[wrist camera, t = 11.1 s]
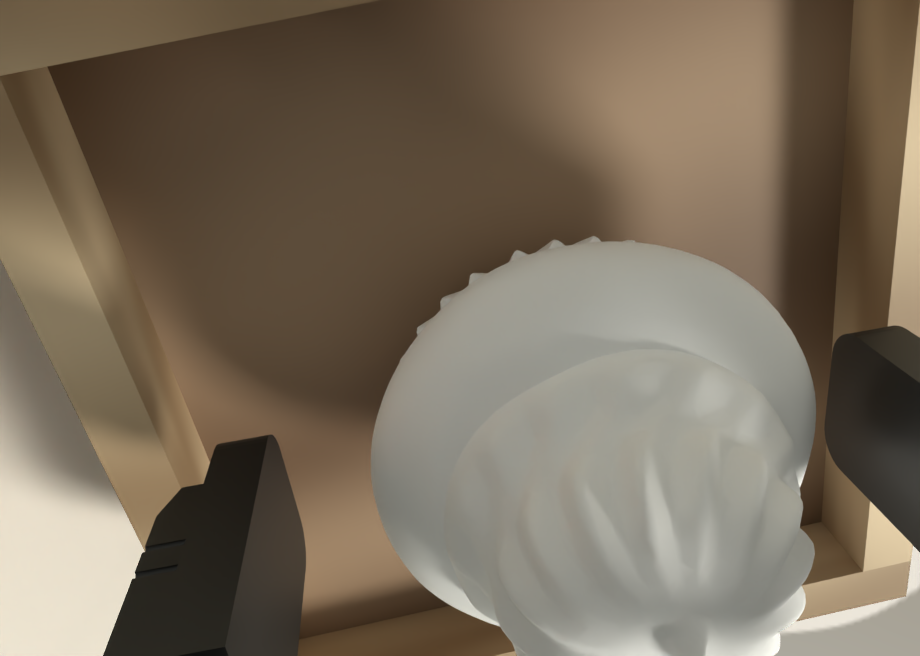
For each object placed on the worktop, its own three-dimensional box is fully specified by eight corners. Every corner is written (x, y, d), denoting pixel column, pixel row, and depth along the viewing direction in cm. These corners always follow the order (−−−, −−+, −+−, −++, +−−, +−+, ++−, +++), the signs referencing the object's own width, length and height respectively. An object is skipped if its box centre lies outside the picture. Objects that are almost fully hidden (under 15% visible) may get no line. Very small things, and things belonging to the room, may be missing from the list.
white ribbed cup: (297, 282, 12) (235, 610, 6) (631, 101, 12) (953, 256, 5) (464, 525, 15) (543, 925, 9) (742, 390, 14) (1040, 715, 8)
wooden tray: (71, -8, 14) (-126, 5, 9) (760, -144, 15) (1018, -219, 9) (275, 530, 21) (242, 748, 15) (755, 424, 21) (906, 596, 15)
